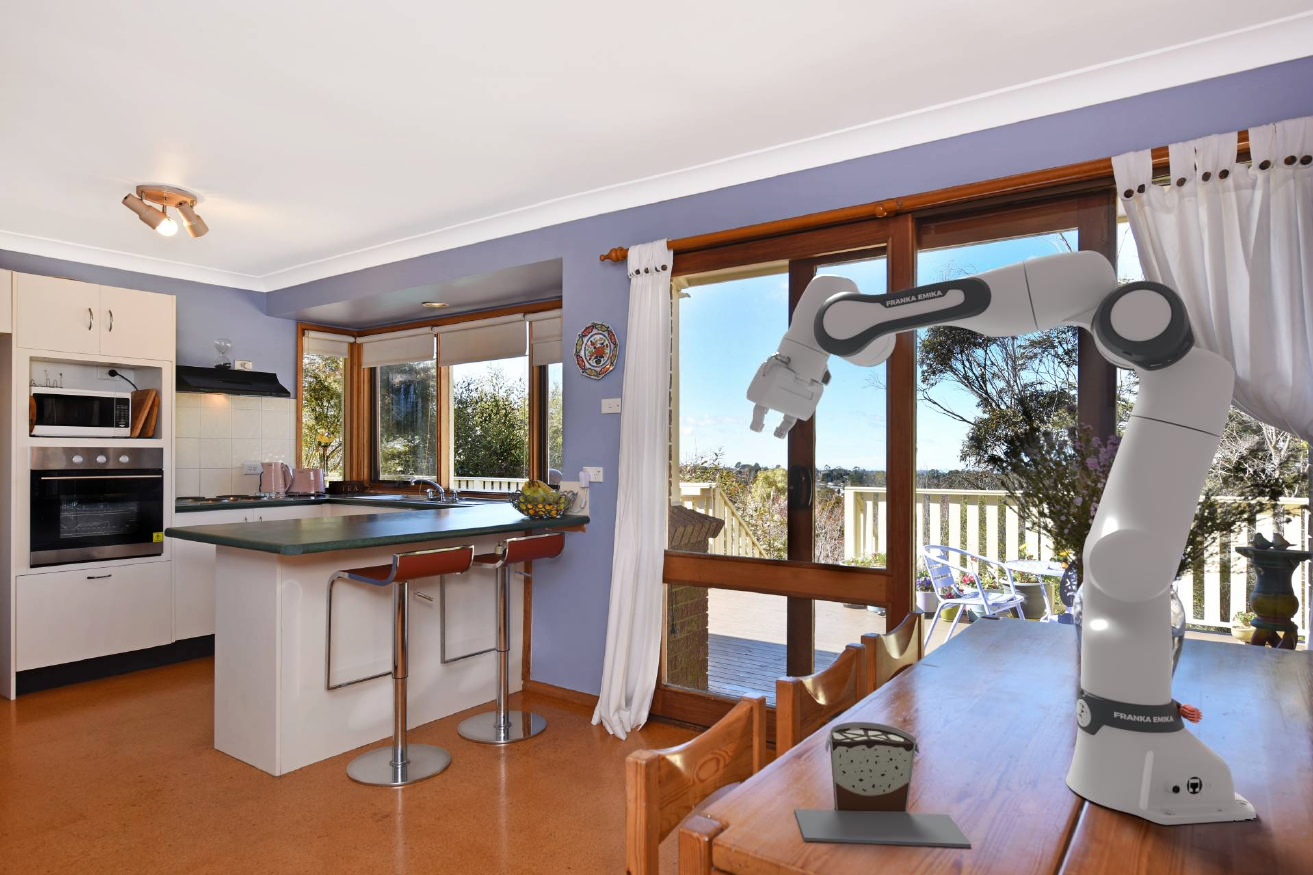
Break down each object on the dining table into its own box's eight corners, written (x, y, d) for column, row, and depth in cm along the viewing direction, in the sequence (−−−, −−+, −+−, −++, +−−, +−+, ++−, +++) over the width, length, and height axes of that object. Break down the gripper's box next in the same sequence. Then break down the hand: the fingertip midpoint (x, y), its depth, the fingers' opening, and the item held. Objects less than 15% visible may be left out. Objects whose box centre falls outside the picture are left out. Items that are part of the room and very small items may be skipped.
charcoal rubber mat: (948, 817, 100) (948, 814, 100) (970, 847, 92) (970, 843, 92) (794, 811, 100) (794, 808, 100) (804, 840, 93) (804, 837, 93)
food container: (901, 793, 107) (903, 720, 107) (918, 814, 101) (919, 737, 101) (813, 791, 106) (815, 719, 107) (825, 812, 100) (826, 735, 100)
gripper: (788, 356, 125) (754, 434, 127) (835, 379, 142) (804, 447, 143) (757, 344, 128) (724, 419, 130) (806, 368, 145) (777, 434, 147)
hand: (766, 434), depth 137 cm, fingers open, 8 cm apart
